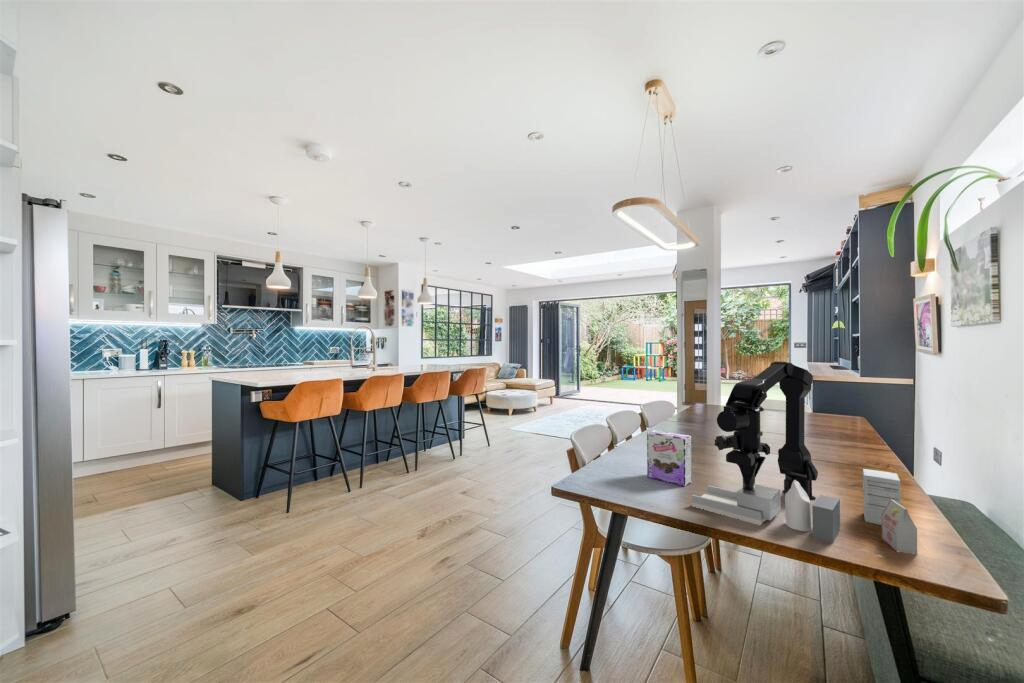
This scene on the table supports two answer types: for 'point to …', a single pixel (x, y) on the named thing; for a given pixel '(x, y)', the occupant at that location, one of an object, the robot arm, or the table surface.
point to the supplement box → (879, 493)
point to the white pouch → (797, 508)
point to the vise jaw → (759, 499)
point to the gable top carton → (899, 528)
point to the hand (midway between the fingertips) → (749, 483)
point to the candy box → (669, 457)
